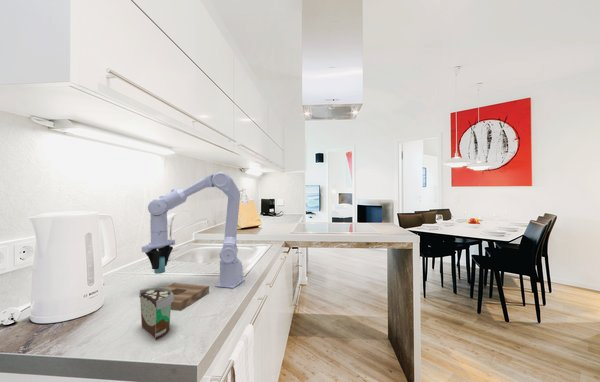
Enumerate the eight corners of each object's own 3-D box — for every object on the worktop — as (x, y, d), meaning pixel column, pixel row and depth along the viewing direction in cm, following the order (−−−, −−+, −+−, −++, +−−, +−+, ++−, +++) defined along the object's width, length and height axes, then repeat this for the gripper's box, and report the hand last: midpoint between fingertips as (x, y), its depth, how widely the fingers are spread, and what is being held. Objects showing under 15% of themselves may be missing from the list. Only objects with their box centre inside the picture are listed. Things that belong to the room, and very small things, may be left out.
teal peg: (159, 270, 106) (159, 256, 106) (167, 271, 105) (167, 256, 105) (152, 273, 102) (151, 258, 102) (160, 274, 102) (159, 259, 102)
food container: (182, 332, 72) (182, 294, 72) (157, 342, 67) (157, 301, 67) (163, 318, 80) (162, 283, 80) (139, 326, 75) (139, 289, 75)
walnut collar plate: (174, 289, 103) (174, 282, 103) (209, 292, 99) (209, 285, 99) (141, 305, 89) (141, 297, 89) (180, 310, 85) (180, 302, 85)
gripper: (164, 228, 112) (165, 261, 112) (134, 234, 98) (134, 272, 98) (179, 228, 110) (179, 262, 110) (150, 234, 96) (151, 273, 96)
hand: (159, 267), depth 104 cm, fingers closed on teal peg, 4 cm apart
